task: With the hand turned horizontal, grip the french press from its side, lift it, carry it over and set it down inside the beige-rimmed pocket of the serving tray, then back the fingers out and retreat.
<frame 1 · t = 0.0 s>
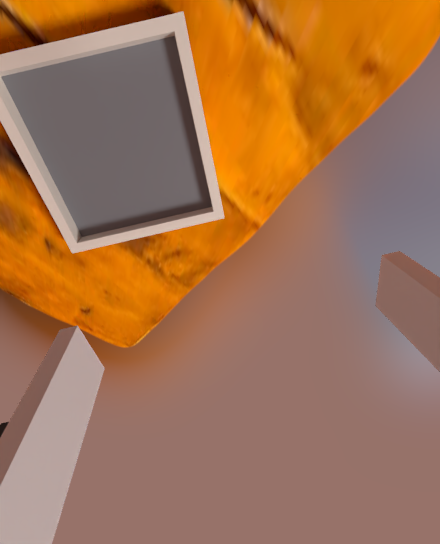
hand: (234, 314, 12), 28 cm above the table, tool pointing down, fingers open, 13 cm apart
serving tray: (123, 149, 33), on the table
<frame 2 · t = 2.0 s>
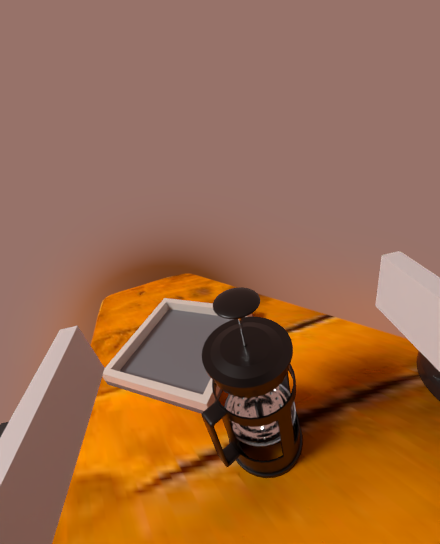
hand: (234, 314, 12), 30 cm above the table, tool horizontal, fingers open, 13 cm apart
serving tray: (184, 350, 52), on the table
french press: (262, 440, 36), on the table
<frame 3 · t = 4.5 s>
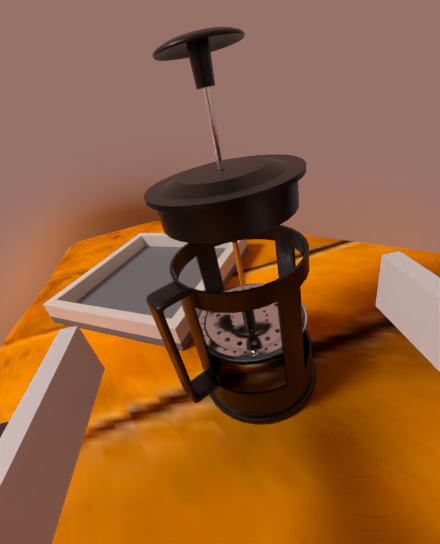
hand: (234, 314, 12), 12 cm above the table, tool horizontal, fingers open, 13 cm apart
serving tray: (158, 283, 40), on the table
french press: (254, 376, 24), on the table
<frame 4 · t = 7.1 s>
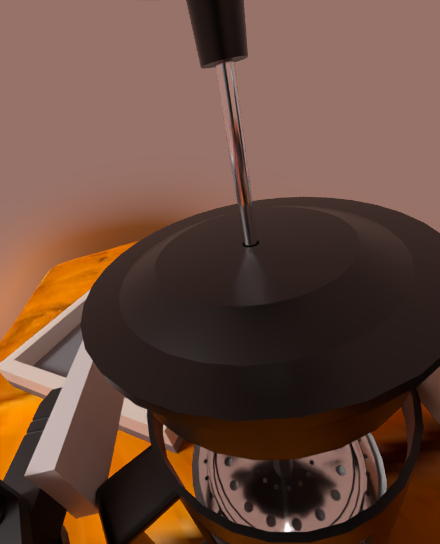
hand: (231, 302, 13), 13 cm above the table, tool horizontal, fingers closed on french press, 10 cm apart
serving tray: (147, 330, 32), on the table
french press: (283, 515, 16), on the table, touching gripper
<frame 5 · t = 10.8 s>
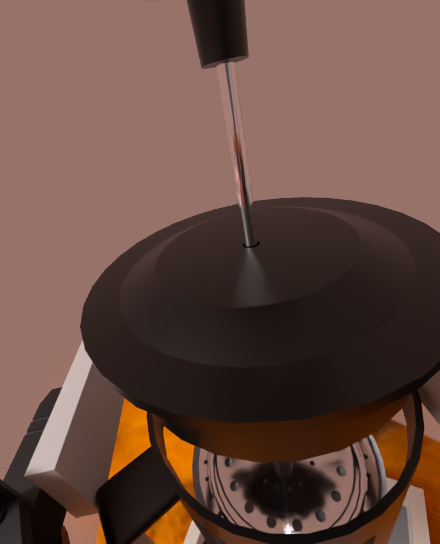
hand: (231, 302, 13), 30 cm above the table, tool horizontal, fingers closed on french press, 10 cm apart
french press: (283, 516, 16), point 17 cm above the table, touching gripper
when the fingers open (15 cm above the table, at t = 14.5 s): french press drops 2 cm, resting on serving tray.
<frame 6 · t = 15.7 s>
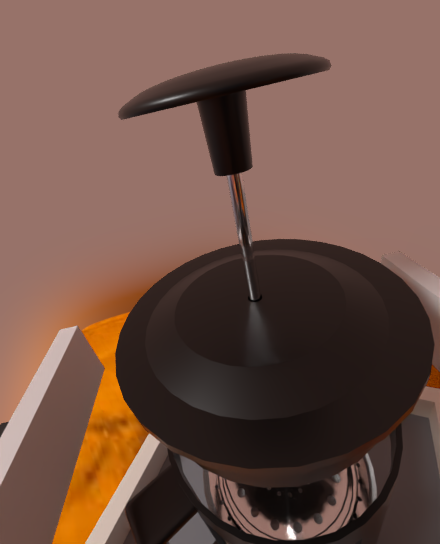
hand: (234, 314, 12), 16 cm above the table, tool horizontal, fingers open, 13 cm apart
serving tray: (281, 518, 18), on the table
french press: (285, 516, 17), point 1 cm above the table, touching serving tray
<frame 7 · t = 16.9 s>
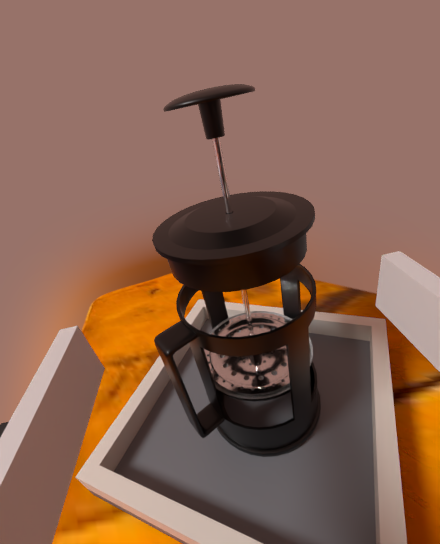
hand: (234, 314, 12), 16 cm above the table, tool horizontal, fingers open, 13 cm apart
serving tray: (256, 407, 25), on the table
french press: (259, 403, 24), point 1 cm above the table, touching serving tray
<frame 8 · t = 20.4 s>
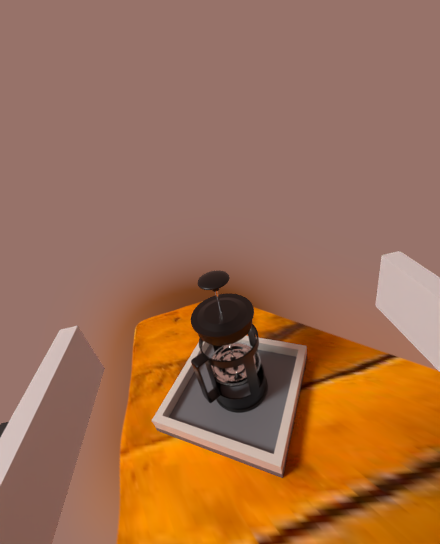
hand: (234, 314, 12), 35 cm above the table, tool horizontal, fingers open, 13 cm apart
serving tray: (237, 391, 48), on the table
french press: (238, 389, 48), point 1 cm above the table, touching serving tray
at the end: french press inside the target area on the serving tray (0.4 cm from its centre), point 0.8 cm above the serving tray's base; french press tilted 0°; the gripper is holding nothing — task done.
